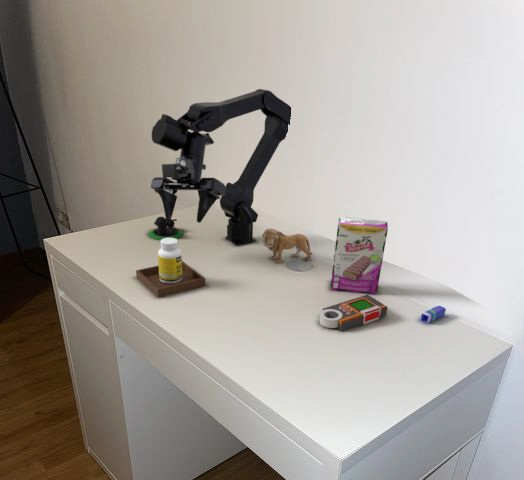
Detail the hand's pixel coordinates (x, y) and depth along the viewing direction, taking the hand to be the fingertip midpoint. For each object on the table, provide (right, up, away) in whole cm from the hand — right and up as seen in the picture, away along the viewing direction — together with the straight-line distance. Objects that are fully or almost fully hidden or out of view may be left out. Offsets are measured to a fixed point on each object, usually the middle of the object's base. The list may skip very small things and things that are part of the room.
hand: (183, 221), depth 133 cm
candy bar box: (+41, -17, -3) cm, 45 cm away
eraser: (+56, -25, -15) cm, 63 cm away
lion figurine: (+26, -8, +10) cm, 29 cm away
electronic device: (+38, -25, -16) cm, 48 cm away
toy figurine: (-8, +2, +24) cm, 25 cm away
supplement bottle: (-2, -15, -3) cm, 15 cm away
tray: (-3, -15, -3) cm, 16 cm away
